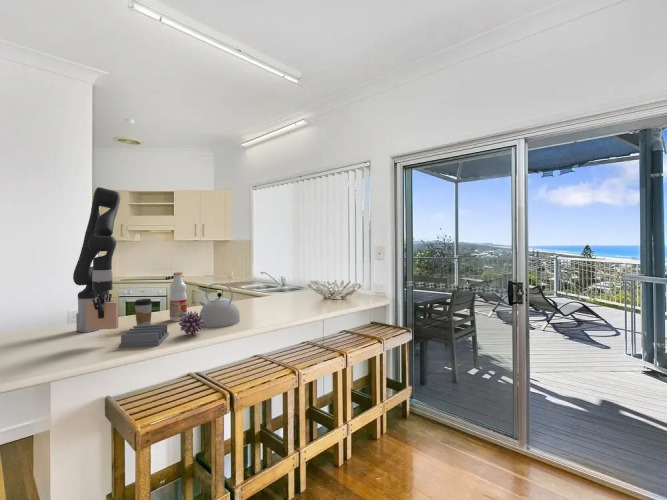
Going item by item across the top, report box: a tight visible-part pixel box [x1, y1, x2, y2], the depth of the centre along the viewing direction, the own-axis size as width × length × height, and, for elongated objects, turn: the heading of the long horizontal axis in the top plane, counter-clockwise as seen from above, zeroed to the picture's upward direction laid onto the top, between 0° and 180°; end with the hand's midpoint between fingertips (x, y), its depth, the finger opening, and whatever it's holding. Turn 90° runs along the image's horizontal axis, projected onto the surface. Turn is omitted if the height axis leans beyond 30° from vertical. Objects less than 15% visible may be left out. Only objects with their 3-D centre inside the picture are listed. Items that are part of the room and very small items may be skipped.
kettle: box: [199, 282, 241, 328], centre depth 196 cm, size 25×23×22 cm
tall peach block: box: [86, 301, 119, 330], centre depth 155 cm, size 12×2×12 cm, turn 101°
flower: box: [178, 310, 204, 336], centre depth 170 cm, size 12×12×12 cm
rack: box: [118, 324, 170, 349], centre depth 159 cm, size 16×17×6 cm
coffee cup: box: [134, 298, 153, 326], centre depth 183 cm, size 8×8×15 cm
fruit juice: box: [169, 271, 188, 322], centre depth 202 cm, size 9×9×28 cm
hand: (102, 317), depth 155 cm, fingers closed on tall peach block, 2 cm apart
